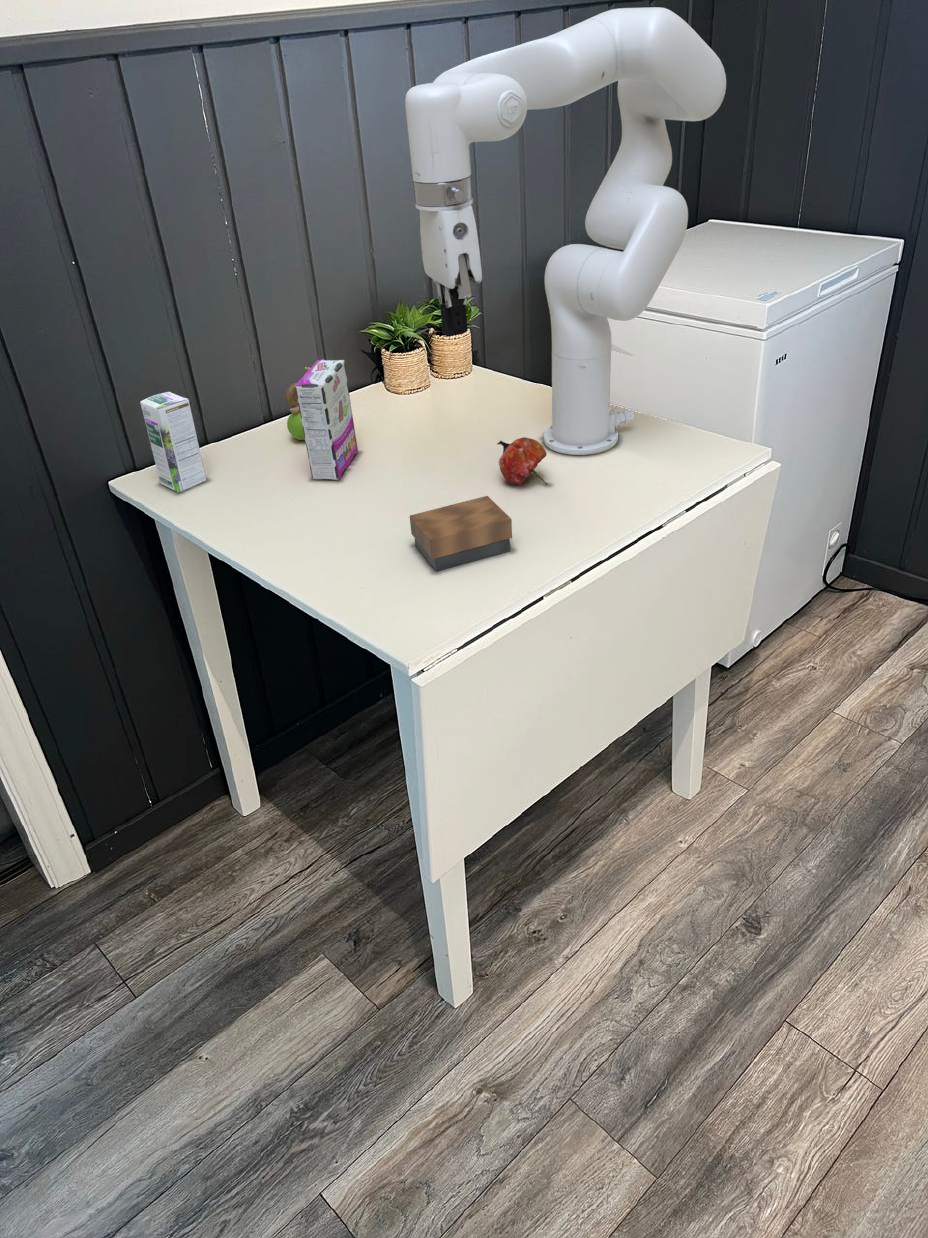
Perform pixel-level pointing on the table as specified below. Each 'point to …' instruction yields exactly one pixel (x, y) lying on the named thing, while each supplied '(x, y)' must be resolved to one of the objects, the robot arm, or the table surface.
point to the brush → (461, 532)
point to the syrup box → (173, 441)
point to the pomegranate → (520, 459)
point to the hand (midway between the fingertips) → (455, 332)
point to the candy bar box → (327, 419)
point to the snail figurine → (294, 413)
